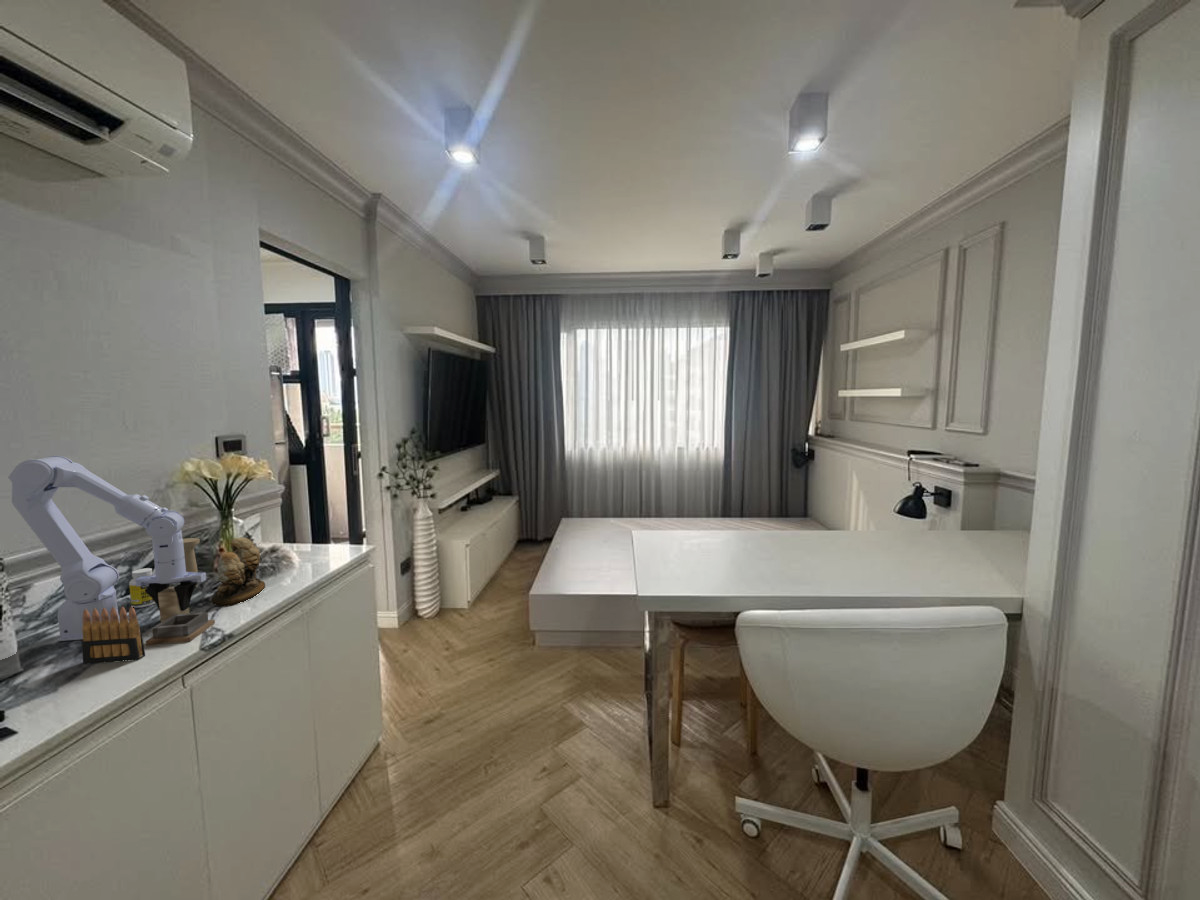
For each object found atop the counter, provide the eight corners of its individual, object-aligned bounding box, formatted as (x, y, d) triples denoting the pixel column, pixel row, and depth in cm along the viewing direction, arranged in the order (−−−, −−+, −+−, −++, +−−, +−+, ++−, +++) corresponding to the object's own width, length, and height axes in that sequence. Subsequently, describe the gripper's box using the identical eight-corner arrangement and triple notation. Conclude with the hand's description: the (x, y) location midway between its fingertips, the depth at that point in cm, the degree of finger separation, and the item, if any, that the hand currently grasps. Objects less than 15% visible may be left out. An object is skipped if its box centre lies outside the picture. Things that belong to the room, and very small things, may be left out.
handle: (195, 591, 137) (190, 542, 135) (172, 592, 136) (167, 543, 134) (207, 584, 141) (203, 537, 140) (185, 585, 141) (180, 538, 139)
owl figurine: (226, 586, 141) (222, 532, 139) (272, 580, 145) (268, 528, 144) (201, 610, 124) (196, 549, 123) (254, 603, 129) (249, 544, 127)
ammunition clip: (82, 664, 99) (76, 611, 97) (91, 659, 101) (84, 607, 99) (138, 660, 100) (132, 607, 99) (145, 655, 102) (139, 604, 101)
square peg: (161, 623, 117) (157, 593, 116) (172, 616, 121) (169, 586, 120) (179, 621, 117) (176, 591, 117) (189, 614, 121) (187, 585, 121)
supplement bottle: (142, 609, 125) (138, 574, 124) (126, 607, 126) (122, 573, 125) (164, 600, 130) (160, 567, 129) (148, 599, 131) (144, 566, 130)
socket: (146, 645, 106) (144, 630, 106) (174, 626, 115) (173, 613, 115) (190, 641, 108) (189, 627, 108) (214, 623, 117) (213, 610, 116)
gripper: (211, 552, 123) (216, 601, 124) (149, 556, 120) (154, 605, 121) (193, 561, 116) (198, 612, 117) (126, 565, 113) (132, 617, 114)
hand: (174, 609), depth 119 cm, fingers closed on square peg, 4 cm apart
